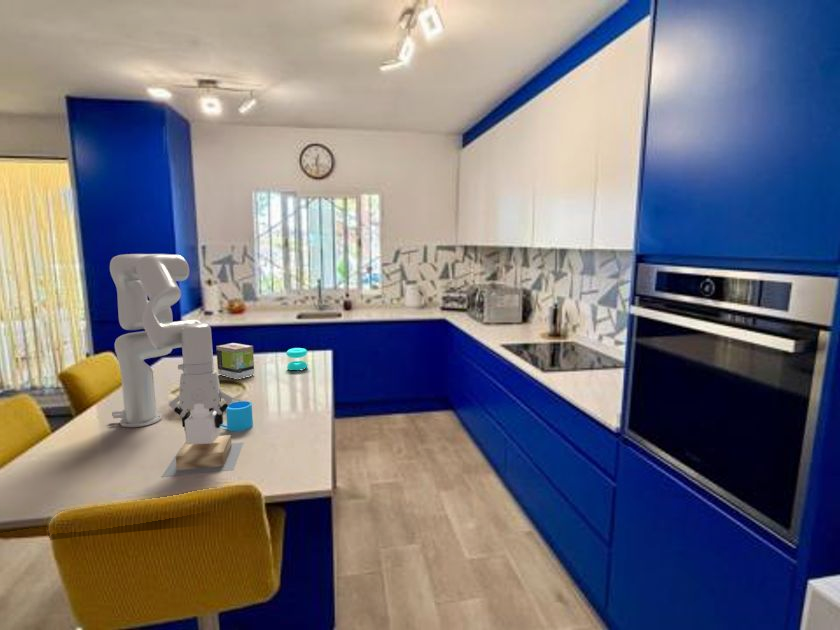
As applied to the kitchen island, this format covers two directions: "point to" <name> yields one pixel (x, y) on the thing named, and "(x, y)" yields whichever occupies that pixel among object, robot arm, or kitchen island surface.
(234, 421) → the mug
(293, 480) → the kitchen island surface
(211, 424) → the medicine bottle
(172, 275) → the robot arm
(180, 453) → the oak block
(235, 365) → the tea box
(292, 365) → the turquoise hourglass
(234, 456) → the grey square mat
